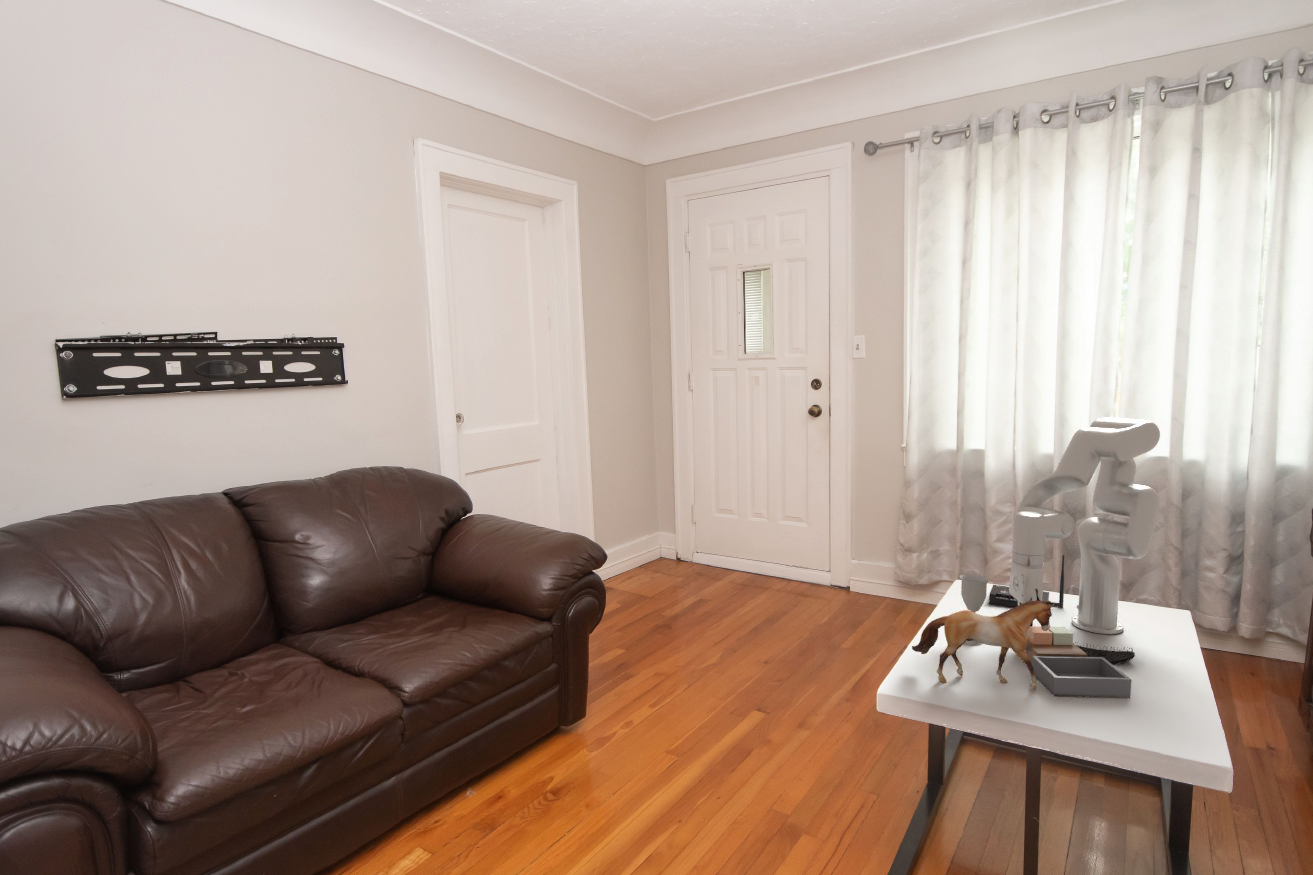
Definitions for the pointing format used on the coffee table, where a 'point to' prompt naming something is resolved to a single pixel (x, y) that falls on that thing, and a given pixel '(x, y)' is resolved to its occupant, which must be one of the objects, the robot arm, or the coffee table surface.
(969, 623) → the horse figurine
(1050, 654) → the brown square platform
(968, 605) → the chalice
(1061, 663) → the box
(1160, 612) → the coffee table surface
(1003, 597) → the wireless router
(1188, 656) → the coffee table surface
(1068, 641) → the pale green cube
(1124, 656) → the hairbrush
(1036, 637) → the peach cube block
